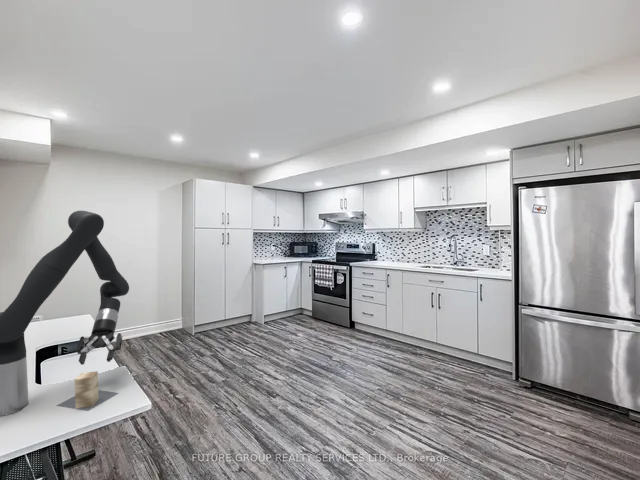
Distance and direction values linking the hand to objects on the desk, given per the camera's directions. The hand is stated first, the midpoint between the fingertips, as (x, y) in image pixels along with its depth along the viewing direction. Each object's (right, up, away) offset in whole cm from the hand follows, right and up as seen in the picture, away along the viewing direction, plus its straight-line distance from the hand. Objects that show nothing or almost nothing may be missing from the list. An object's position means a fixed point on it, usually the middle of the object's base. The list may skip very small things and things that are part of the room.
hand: (95, 362), depth 119 cm
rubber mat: (0, -12, -4) cm, 13 cm away
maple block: (+2, -12, -7) cm, 14 cm away
